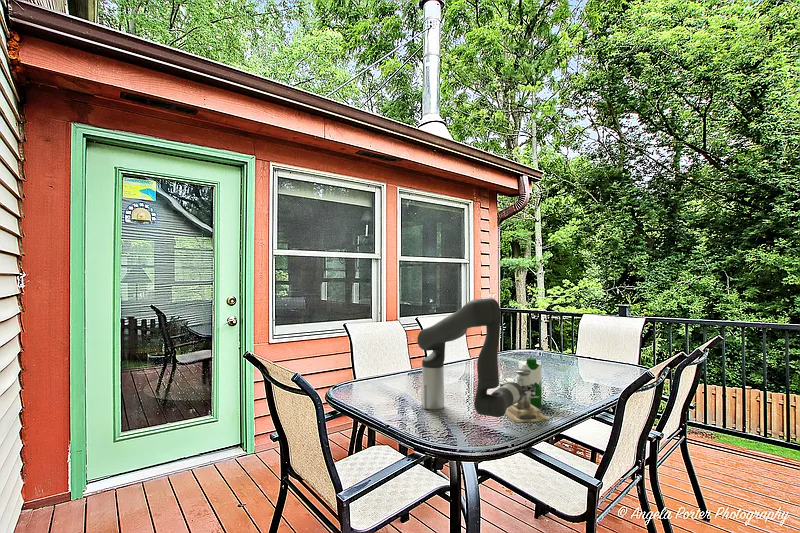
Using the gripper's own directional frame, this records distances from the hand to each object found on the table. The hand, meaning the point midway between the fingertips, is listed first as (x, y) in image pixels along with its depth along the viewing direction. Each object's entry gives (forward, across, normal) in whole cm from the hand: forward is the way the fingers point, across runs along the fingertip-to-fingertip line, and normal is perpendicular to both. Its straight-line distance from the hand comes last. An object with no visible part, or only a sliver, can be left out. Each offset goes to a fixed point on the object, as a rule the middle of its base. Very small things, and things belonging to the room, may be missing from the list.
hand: (525, 385), depth 165 cm
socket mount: (-2, 0, +11) cm, 12 cm away
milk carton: (+13, +3, +12) cm, 18 cm away
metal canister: (-3, 0, +8) cm, 8 cm away
